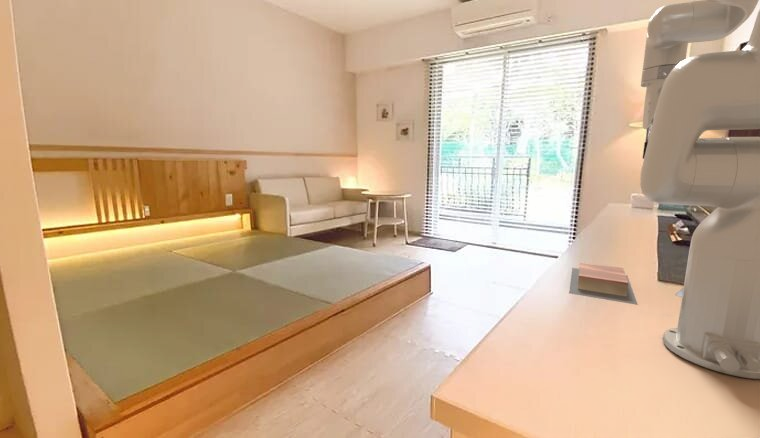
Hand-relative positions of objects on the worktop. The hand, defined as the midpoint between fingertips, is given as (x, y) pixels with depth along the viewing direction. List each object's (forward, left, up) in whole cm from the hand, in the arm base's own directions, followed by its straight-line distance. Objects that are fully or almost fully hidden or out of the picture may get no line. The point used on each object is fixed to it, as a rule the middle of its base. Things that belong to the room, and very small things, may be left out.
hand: (651, 158), depth 83 cm
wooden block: (-7, +8, -27) cm, 29 cm away
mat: (-12, +8, -29) cm, 32 cm away
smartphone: (-7, -11, -30) cm, 32 cm away
